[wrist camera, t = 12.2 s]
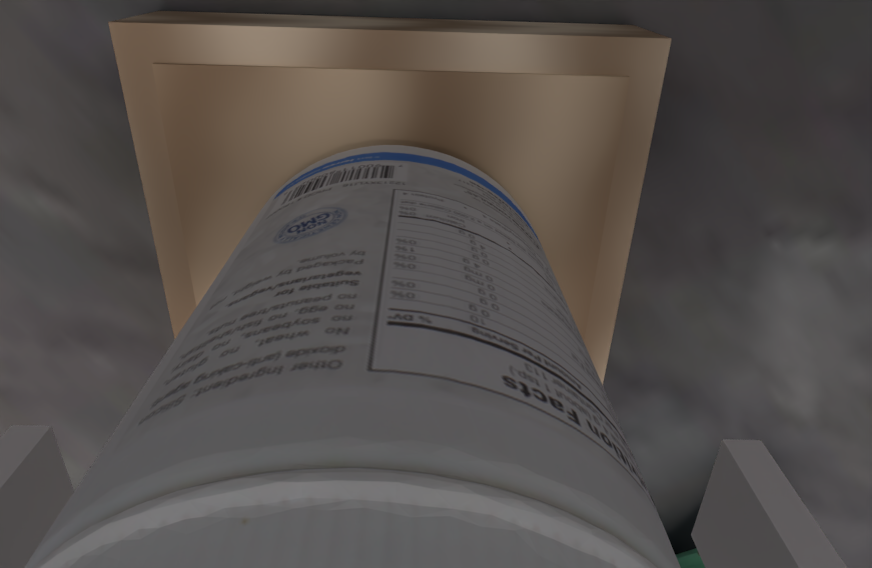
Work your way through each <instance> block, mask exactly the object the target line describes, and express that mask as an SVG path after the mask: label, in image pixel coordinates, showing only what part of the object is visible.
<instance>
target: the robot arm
mask: <svg viewBox="0 0 872 568" xmlns="http://www.w3.org/2000/svg"><path fill="white" fill-rule="evenodd" d="M73 493H74V490H73V487H72V484H71V481H70V478H69V475H68V472H67V469H66V467H65V464H64V461H63V458H62V455H61V452H60V449H59V447H58V444H57V441H56V438H55V435H54V432H53V429H52V426H33V425H11V426H10V427H9V428H8V429H7V430H6V432H5V433H4V434H3V435H2V436H1V437H0V568H25V566H26V564H27V563H28V561H29V559H30V558H31V556H32V555H33V553H34V552H35V550H36V549H37V547H38V546H39V544H40V543H41V541H42V540H43V538H44V537H45V535H46V534H47V532H48V531H49V529H50V528H51V526H52V524H53V523H54V521H55V520H56V518H57V517H58V515H59V514H60V512H61V511H62V509H63V508H64V506H65V505H66V503H67V502H68V500H69V499H70V497H71V496H72V494H73ZM691 537H692V539H693V541H694V543H695V546H696V548H697V550H698V552H699V555H700V557H701V559H702V561H703V564H704V566H705V568H847V567H846V565H845V564H844V562H843V561H842V559H841V558H840V556H839V555H838V553H837V552H836V551H835V549H834V548H833V546H832V545H831V543H830V542H829V540H828V539H827V537H826V536H825V534H824V533H823V531H822V530H821V528H820V527H819V525H818V524H817V522H816V521H815V519H814V518H813V516H812V515H811V514H810V512H809V511H808V509H807V508H806V506H805V505H804V503H803V502H802V500H801V499H800V497H799V496H798V494H797V493H796V491H795V490H794V488H793V487H792V485H791V484H790V482H789V481H788V479H787V478H786V477H785V475H784V474H783V472H782V471H781V469H780V468H779V466H778V465H777V463H776V462H775V460H774V459H773V457H772V456H771V454H770V453H769V451H768V450H767V448H766V447H765V445H764V444H763V442H762V441H761V440H731V439H722V442H721V445H720V448H719V451H718V454H717V457H716V460H715V463H714V467H713V470H712V473H711V476H710V479H709V482H708V485H707V488H706V491H705V494H704V497H703V500H702V503H701V506H700V509H699V512H698V515H697V518H696V521H695V524H694V527H693V530H692V533H691Z"/></svg>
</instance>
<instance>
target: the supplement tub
mask: <svg viewBox="0 0 872 568" xmlns="http://www.w3.org/2000/svg"><path fill="white" fill-rule="evenodd" d="M25 568H681V567H680V564H679V562H678V560H677V557H676V555H675V553H674V550H673V548H672V545H671V543H670V541H669V538H668V536H667V533H666V531H665V528H664V526H663V523H662V521H661V519H660V517H659V515H658V512H657V510H656V507H655V504H654V502H653V500H652V497H651V495H650V493H649V491H648V489H647V487H646V484H645V482H644V480H643V477H642V475H641V473H640V471H639V468H638V466H637V464H636V461H635V459H634V457H633V454H632V452H631V450H630V447H629V445H628V443H627V440H626V438H625V436H624V434H623V431H622V429H621V427H620V424H619V422H618V420H617V417H616V415H615V413H614V410H613V408H612V406H611V403H610V401H609V399H608V397H607V394H606V392H605V390H604V387H603V385H602V383H601V380H600V378H599V376H598V373H597V371H596V369H595V367H594V364H593V362H592V360H591V357H590V355H589V353H588V350H587V348H586V346H585V344H584V341H583V339H582V337H581V335H580V332H579V330H578V328H577V326H576V323H575V321H574V319H573V316H572V314H571V312H570V310H569V307H568V305H567V303H566V300H565V298H564V296H563V293H562V291H561V289H560V286H559V284H558V282H557V280H556V277H555V275H554V273H553V271H552V268H551V266H550V264H549V261H548V259H547V257H546V255H545V252H544V250H543V248H542V246H541V244H540V242H539V239H538V237H537V235H536V233H535V231H534V229H533V227H532V225H531V223H530V221H529V219H528V218H527V216H526V214H525V213H524V212H523V210H522V209H521V208H520V206H519V205H518V204H517V202H516V201H515V200H514V199H513V198H512V197H511V195H510V194H509V193H508V192H507V191H506V190H505V189H504V188H503V187H502V186H500V185H499V184H498V183H497V182H496V181H494V180H493V179H492V178H490V177H489V176H488V175H486V174H485V173H483V172H482V171H480V170H479V169H477V168H476V167H474V166H472V165H470V164H468V163H466V162H464V161H462V160H459V159H457V158H455V157H452V156H450V155H447V154H443V153H440V152H437V151H433V150H428V149H423V148H418V147H412V146H404V145H376V146H368V147H361V148H357V149H352V150H348V151H344V152H340V153H337V154H335V155H332V156H330V157H327V158H325V159H323V160H320V161H318V162H316V163H314V164H312V165H310V166H308V167H307V168H305V169H304V170H302V171H301V172H299V173H298V174H296V175H295V176H294V177H292V178H291V179H290V180H288V181H287V182H286V183H285V184H284V185H282V186H281V187H280V188H279V189H278V190H277V191H276V192H275V193H274V194H273V195H272V196H271V197H270V199H269V200H268V201H267V203H266V204H265V205H264V207H263V208H262V209H261V211H260V212H259V214H258V215H257V217H256V218H255V220H254V221H253V223H252V224H251V226H250V227H249V228H248V230H247V231H246V233H245V234H244V236H243V238H242V239H241V241H240V242H239V244H238V245H237V247H236V248H235V250H234V251H233V253H232V254H231V256H230V257H229V259H228V261H227V262H226V264H225V265H224V267H223V268H222V270H221V271H220V273H219V274H218V276H217V277H216V279H215V280H214V282H213V283H212V285H211V286H210V288H209V289H208V291H207V292H206V294H205V295H204V297H203V298H202V300H201V301H200V303H199V304H198V306H197V307H196V309H195V310H194V312H193V313H192V315H191V316H190V318H189V319H188V321H187V322H186V324H185V325H184V327H183V328H182V330H181V331H180V333H179V334H178V336H177V337H176V339H175V340H174V342H173V343H172V345H171V346H170V348H169V349H168V351H167V352H166V354H165V355H164V357H163V358H162V360H161V361H160V363H159V364H158V366H157V367H156V369H155V370H154V372H153V373H152V375H151V376H150V378H149V379H148V381H147V382H146V384H145V385H144V387H143V388H142V390H141V391H140V393H139V395H138V396H137V398H136V399H135V401H134V402H133V404H132V405H131V407H130V408H129V410H128V411H127V413H126V414H125V416H124V417H123V419H122V420H121V422H120V423H119V425H118V426H117V428H116V429H115V431H114V432H113V434H112V435H111V437H110V438H109V440H108V441H107V443H106V444H105V446H104V447H103V449H102V450H101V452H100V453H99V455H98V456H97V458H96V459H95V461H94V463H93V464H92V466H91V467H90V469H89V470H88V472H87V473H86V475H85V476H84V478H83V479H82V481H81V482H80V484H79V485H78V487H77V488H76V490H75V491H74V493H73V494H72V496H71V497H70V499H69V500H68V502H67V503H66V505H65V506H64V508H63V509H62V511H61V512H60V514H59V515H58V517H57V518H56V520H55V521H54V523H53V524H52V526H51V528H50V529H49V531H48V532H47V534H46V535H45V537H44V538H43V540H42V541H41V543H40V544H39V546H38V547H37V549H36V550H35V552H34V553H33V555H32V556H31V558H30V559H29V561H28V563H27V564H26V566H25Z"/></svg>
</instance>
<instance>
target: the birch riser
mask: <svg viewBox="0 0 872 568" xmlns="http://www.w3.org/2000/svg"><path fill="white" fill-rule="evenodd" d="M108 23H109V28H110V33H111V37H112V42H113V47H114V52H115V57H116V61H117V66H118V71H119V76H120V80H121V85H122V90H123V95H124V99H125V104H126V109H127V114H128V119H129V123H130V128H131V133H132V138H133V142H134V147H135V152H136V157H137V162H138V166H139V171H140V176H141V181H142V185H143V190H144V195H145V200H146V204H147V209H148V214H149V219H150V224H151V228H152V233H153V238H154V243H155V247H156V252H157V257H158V262H159V267H160V271H161V276H162V281H163V286H164V290H165V295H166V300H167V305H168V309H169V314H170V319H171V324H172V329H173V333H174V338H175V339H176V337H177V336H178V334H179V333H180V331H181V330H182V328H183V327H184V325H185V324H186V322H187V321H188V319H189V318H190V316H191V315H192V313H193V312H194V310H195V309H196V307H197V306H198V304H199V303H200V301H201V300H202V298H203V297H204V295H205V294H206V292H207V291H208V289H209V288H210V286H211V285H212V283H213V282H214V280H215V279H216V277H217V276H218V274H219V273H220V271H221V270H222V268H223V267H224V265H225V264H226V262H227V261H228V259H229V257H230V256H231V254H232V253H233V251H234V250H235V248H236V247H237V245H238V244H239V242H240V241H241V239H242V238H243V236H244V234H245V233H246V231H247V230H248V228H249V227H250V226H251V224H252V223H253V221H254V220H255V218H256V217H257V215H258V214H259V212H260V211H261V209H262V208H263V207H264V205H265V204H266V203H267V201H268V200H269V199H270V197H271V196H272V195H273V194H274V193H275V192H276V191H277V190H278V189H279V188H280V187H281V186H282V185H284V184H285V183H286V182H287V181H288V180H290V179H291V178H292V177H294V176H295V175H296V174H298V173H299V172H301V171H302V170H304V169H305V168H307V167H308V166H310V165H312V164H314V163H316V162H318V161H320V160H323V159H325V158H327V157H330V156H332V155H335V154H337V153H340V152H344V151H348V150H352V149H357V148H361V147H368V146H376V145H404V146H412V147H418V148H423V149H428V150H433V151H437V152H440V153H443V154H447V155H450V156H452V157H455V158H457V159H459V160H462V161H464V162H466V163H468V164H470V165H472V166H474V167H476V168H477V169H479V170H480V171H482V172H483V173H485V174H486V175H488V176H489V177H490V178H492V179H493V180H494V181H496V182H497V183H498V184H499V185H500V186H502V187H503V188H504V189H505V190H506V191H507V192H508V193H509V194H510V195H511V197H512V198H513V199H514V200H515V201H516V202H517V204H518V205H519V206H520V208H521V209H522V210H523V212H524V213H525V214H526V216H527V218H528V219H529V221H530V223H531V225H532V227H533V229H534V231H535V233H536V235H537V237H538V239H539V242H540V244H541V246H542V248H543V250H544V252H545V255H546V257H547V259H548V261H549V264H550V266H551V268H552V271H553V273H554V275H555V277H556V280H557V282H558V284H559V286H560V289H561V291H562V293H563V296H564V298H565V300H566V303H567V305H568V307H569V310H570V312H571V314H572V316H573V319H574V321H575V323H576V326H577V328H578V330H579V332H580V335H581V337H582V339H583V341H584V344H585V346H586V348H587V350H588V353H589V355H590V357H591V360H592V362H593V364H594V367H595V369H596V371H597V373H598V376H599V378H600V380H601V383H602V385H603V381H604V376H605V371H606V366H607V361H608V356H609V351H610V346H611V341H612V336H613V331H614V326H615V321H616V316H617V311H618V305H619V300H620V295H621V290H622V285H623V280H624V275H625V270H626V265H627V260H628V255H629V250H630V245H631V240H632V235H633V230H634V225H635V220H636V215H637V210H638V205H639V200H640V195H641V190H642V185H643V180H644V175H645V170H646V165H647V160H648V155H649V150H650V145H651V140H652V135H653V130H654V125H655V120H656V115H657V110H658V105H659V100H660V95H661V90H662V85H663V80H664V75H665V70H666V65H667V60H668V55H669V50H670V45H671V38H668V37H666V36H663V35H660V34H657V33H654V32H651V31H649V30H646V29H643V28H640V27H637V26H634V25H616V24H583V23H549V22H516V21H483V20H449V19H416V18H383V17H350V16H316V15H283V14H250V13H216V12H183V11H156V12H151V13H147V14H142V15H138V16H133V17H129V18H124V19H120V20H115V21H111V22H108Z"/></svg>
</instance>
